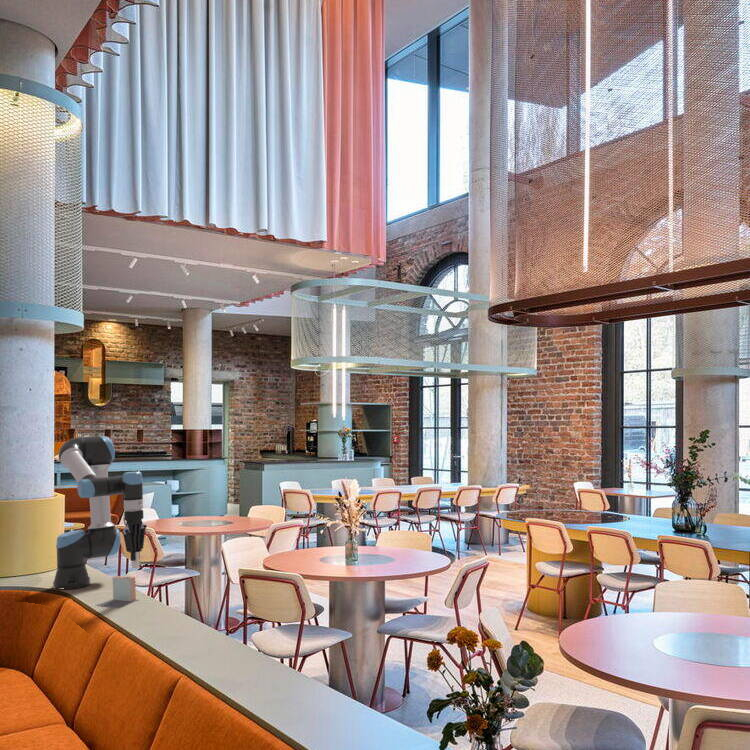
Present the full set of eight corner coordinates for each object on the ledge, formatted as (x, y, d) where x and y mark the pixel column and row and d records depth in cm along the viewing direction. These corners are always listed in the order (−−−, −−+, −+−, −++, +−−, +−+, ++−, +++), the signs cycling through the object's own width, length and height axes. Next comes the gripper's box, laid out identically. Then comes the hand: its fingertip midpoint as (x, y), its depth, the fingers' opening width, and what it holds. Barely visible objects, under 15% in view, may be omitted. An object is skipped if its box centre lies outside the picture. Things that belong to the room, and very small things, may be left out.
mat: (115, 599, 320) (115, 597, 320) (140, 601, 315) (139, 599, 315) (94, 607, 309) (94, 605, 309) (119, 609, 304) (119, 607, 304)
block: (117, 598, 319) (117, 576, 319) (135, 600, 315) (135, 577, 315) (113, 600, 316) (112, 577, 316) (131, 601, 313) (130, 578, 313)
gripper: (130, 512, 316) (132, 572, 315) (151, 507, 328) (153, 565, 327) (115, 512, 318) (117, 571, 318) (136, 507, 331) (138, 564, 330)
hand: (135, 568), depth 322 cm, fingers closed
